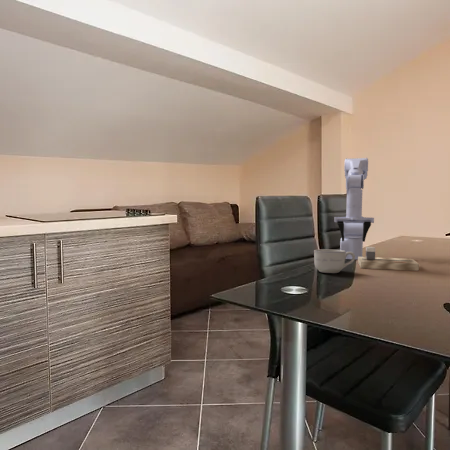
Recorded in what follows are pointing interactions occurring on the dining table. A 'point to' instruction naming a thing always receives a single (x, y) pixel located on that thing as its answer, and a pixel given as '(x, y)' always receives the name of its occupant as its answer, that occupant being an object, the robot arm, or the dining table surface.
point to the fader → (370, 253)
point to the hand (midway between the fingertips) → (353, 241)
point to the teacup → (331, 260)
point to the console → (388, 263)
